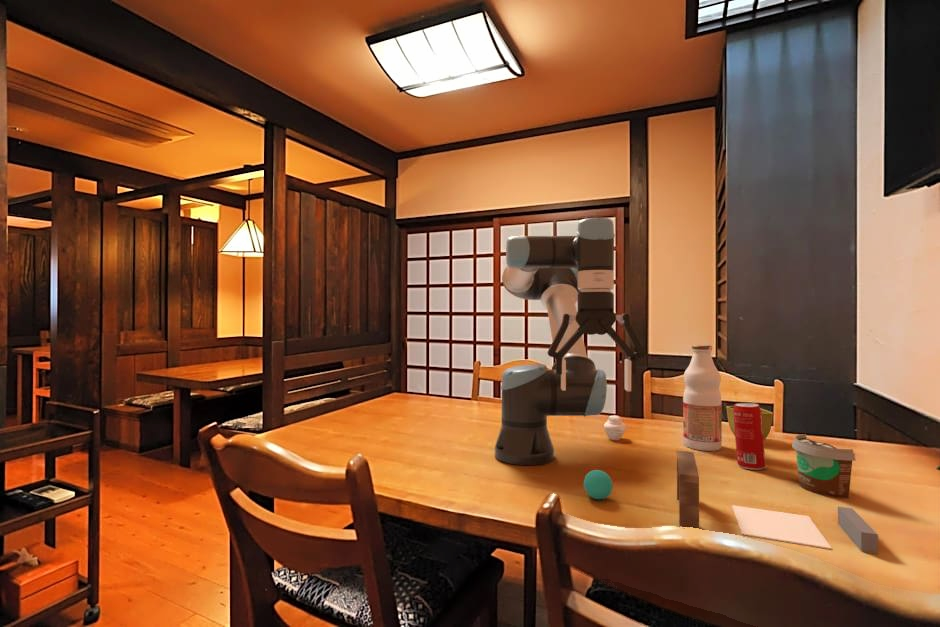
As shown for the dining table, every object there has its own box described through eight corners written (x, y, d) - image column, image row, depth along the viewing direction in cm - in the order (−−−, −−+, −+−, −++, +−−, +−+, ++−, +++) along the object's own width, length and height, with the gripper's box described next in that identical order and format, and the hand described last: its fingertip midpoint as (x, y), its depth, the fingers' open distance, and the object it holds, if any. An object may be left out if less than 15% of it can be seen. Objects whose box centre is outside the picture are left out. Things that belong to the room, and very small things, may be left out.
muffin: (600, 436, 135) (600, 412, 135) (620, 435, 136) (620, 412, 136) (609, 442, 129) (609, 417, 129) (629, 441, 130) (629, 417, 130)
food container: (777, 479, 100) (777, 434, 100) (803, 478, 100) (803, 433, 100) (826, 502, 88) (826, 451, 88) (855, 501, 88) (855, 450, 88)
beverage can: (769, 471, 105) (769, 407, 105) (739, 470, 106) (738, 406, 106) (758, 463, 110) (758, 402, 110) (729, 461, 112) (729, 401, 112)
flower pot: (774, 444, 126) (774, 412, 126) (742, 444, 126) (742, 412, 126) (755, 436, 135) (754, 406, 135) (725, 436, 135) (725, 406, 135)
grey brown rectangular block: (679, 527, 77) (679, 474, 77) (676, 496, 91) (676, 450, 91) (699, 530, 76) (699, 476, 76) (693, 498, 90) (693, 452, 90)
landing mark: (742, 534, 75) (742, 533, 75) (731, 506, 86) (731, 505, 86) (831, 549, 70) (831, 548, 70) (808, 517, 81) (808, 516, 81)
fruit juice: (699, 452, 119) (699, 346, 119) (675, 442, 128) (675, 344, 128) (730, 450, 121) (729, 346, 121) (704, 440, 130) (704, 343, 130)
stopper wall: (861, 551, 70) (861, 531, 70) (837, 523, 79) (837, 506, 79) (877, 554, 69) (877, 534, 69) (852, 525, 78) (852, 508, 78)
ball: (581, 501, 88) (581, 473, 88) (586, 491, 93) (585, 464, 93) (611, 506, 86) (610, 477, 86) (613, 495, 91) (613, 468, 91)
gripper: (537, 291, 94) (537, 392, 95) (661, 290, 92) (660, 394, 92) (536, 292, 102) (536, 386, 102) (650, 291, 99) (650, 387, 100)
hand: (595, 390), depth 97 cm, fingers open, 13 cm apart
